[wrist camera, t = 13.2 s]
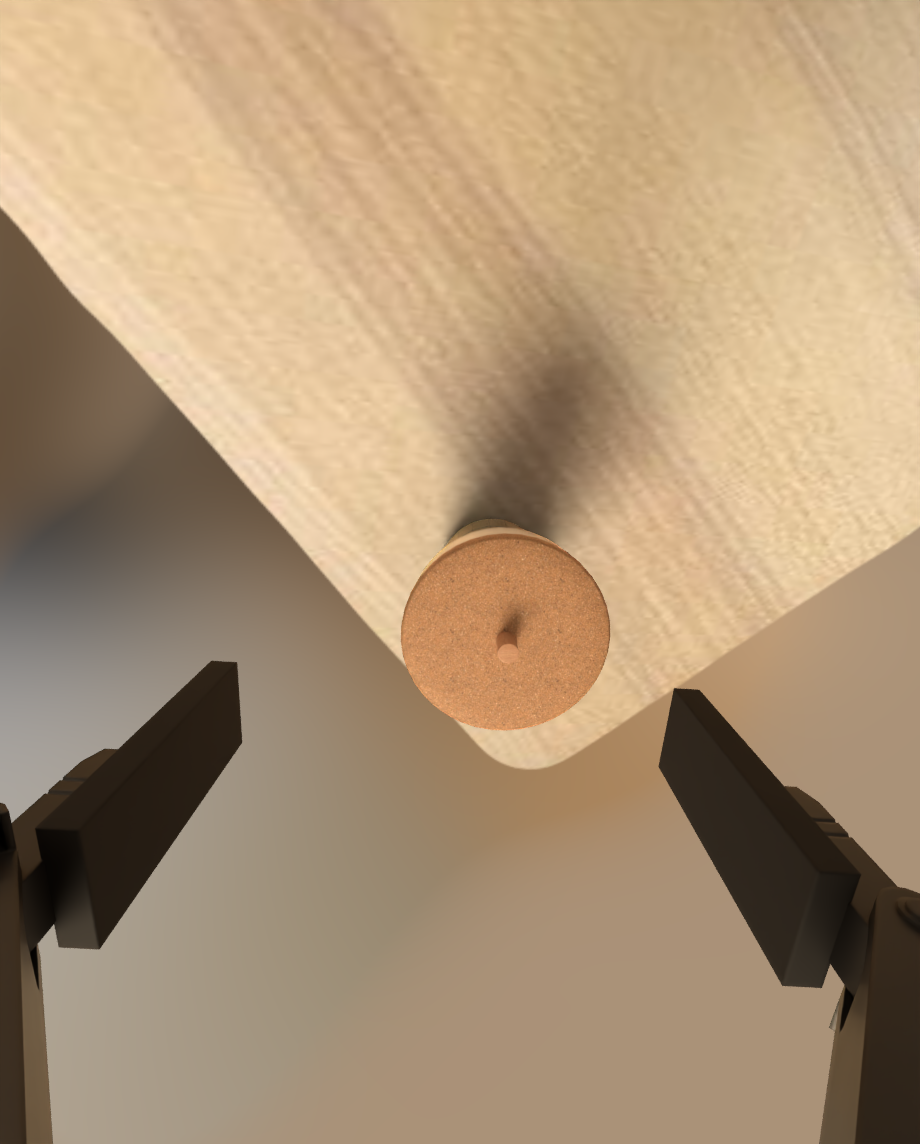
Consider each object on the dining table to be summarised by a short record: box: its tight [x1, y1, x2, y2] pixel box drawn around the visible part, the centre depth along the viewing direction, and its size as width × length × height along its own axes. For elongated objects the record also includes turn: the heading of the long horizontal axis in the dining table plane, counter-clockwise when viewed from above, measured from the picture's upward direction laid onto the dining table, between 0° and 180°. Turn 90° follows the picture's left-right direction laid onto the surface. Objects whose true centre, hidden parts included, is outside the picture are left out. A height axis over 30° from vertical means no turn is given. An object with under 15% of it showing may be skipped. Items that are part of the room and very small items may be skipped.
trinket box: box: [401, 527, 610, 730], centre depth 29 cm, size 11×11×9 cm
